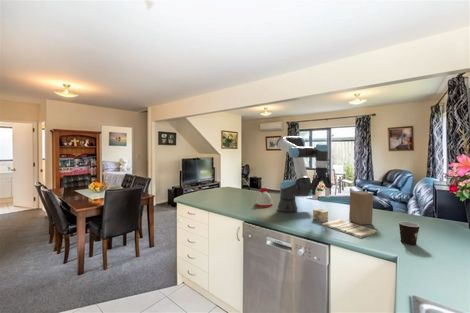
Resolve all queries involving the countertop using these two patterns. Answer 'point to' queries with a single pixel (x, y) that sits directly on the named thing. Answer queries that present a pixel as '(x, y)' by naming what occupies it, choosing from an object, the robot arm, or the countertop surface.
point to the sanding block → (320, 215)
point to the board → (349, 228)
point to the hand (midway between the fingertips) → (320, 198)
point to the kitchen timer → (264, 199)
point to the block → (361, 207)
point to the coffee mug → (408, 232)
